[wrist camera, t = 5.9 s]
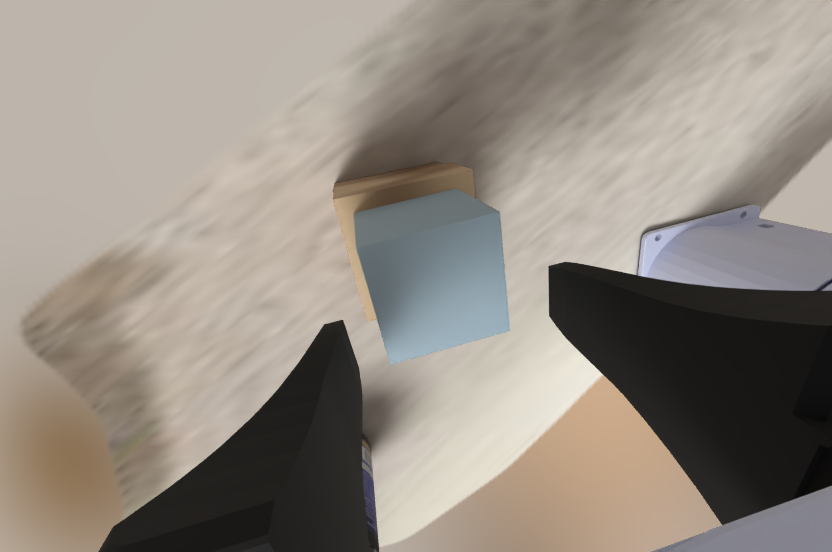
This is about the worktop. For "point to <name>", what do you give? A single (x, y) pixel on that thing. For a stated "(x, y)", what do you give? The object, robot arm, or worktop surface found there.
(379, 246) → the cube
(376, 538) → the pill bottle
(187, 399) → the worktop surface
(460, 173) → the slab upper
